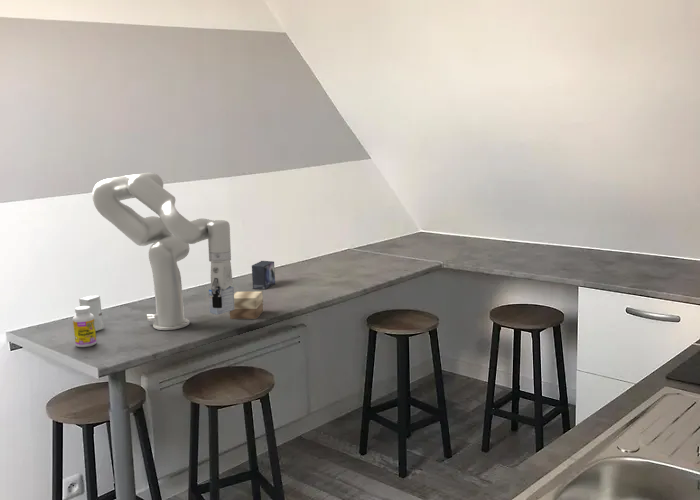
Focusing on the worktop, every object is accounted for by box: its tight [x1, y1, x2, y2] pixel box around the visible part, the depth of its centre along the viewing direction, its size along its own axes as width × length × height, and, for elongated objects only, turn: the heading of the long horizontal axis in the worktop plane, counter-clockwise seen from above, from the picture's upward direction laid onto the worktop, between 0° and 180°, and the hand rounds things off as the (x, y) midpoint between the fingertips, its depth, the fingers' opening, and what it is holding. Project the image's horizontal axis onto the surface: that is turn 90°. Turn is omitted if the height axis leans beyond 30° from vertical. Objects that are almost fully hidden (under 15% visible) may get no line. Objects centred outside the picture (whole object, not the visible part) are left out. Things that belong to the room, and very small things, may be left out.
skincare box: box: [78, 295, 104, 332], centre depth 253 cm, size 6×4×12 cm
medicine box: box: [208, 285, 235, 316], centre depth 250 cm, size 8×4×9 cm, turn 141°
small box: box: [251, 260, 276, 290], centre depth 309 cm, size 11×6×10 cm, turn 161°
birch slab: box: [234, 291, 264, 309], centre depth 266 cm, size 10×10×4 cm
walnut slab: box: [229, 301, 264, 320], centre depth 266 cm, size 10×10×4 cm
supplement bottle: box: [72, 305, 97, 348], centre depth 237 cm, size 7×7×13 cm
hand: (221, 303), depth 250 cm, fingers closed on medicine box, 9 cm apart
